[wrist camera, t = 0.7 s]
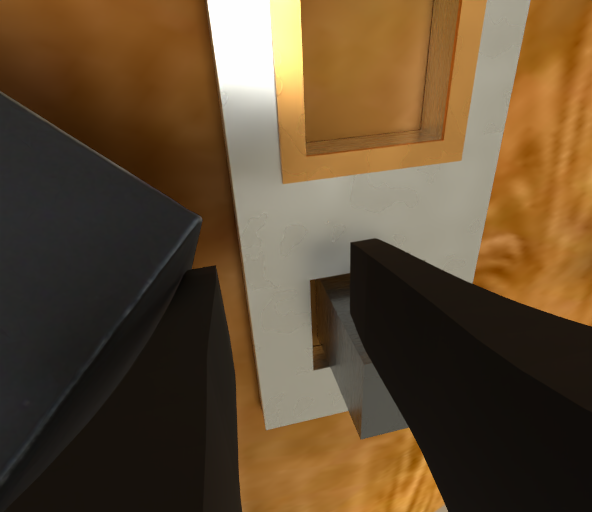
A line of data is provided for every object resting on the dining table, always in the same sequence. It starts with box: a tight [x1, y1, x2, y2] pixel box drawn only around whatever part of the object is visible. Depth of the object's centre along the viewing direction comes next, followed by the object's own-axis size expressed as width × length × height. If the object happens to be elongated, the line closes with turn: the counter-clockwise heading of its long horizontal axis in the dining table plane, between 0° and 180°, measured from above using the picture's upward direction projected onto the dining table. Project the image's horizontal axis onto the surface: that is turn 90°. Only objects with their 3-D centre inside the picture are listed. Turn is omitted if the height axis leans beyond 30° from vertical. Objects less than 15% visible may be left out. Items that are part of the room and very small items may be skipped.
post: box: [315, 273, 409, 439], centre depth 20 cm, size 4×4×7 cm
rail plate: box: [205, 0, 530, 430], centre depth 19 cm, size 26×12×2 cm, turn 3°
